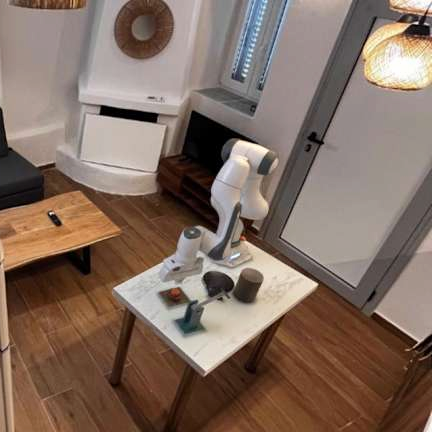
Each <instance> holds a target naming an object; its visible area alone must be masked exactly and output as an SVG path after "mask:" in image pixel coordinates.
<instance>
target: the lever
mask: <svg viewBox="0 0 432 432" xmlns="http://www.w3.org/2000/svg"><path fill="white" fill-rule="evenodd" d="M219 291H221V292H219V294H218V295H216V296H214V297H212V298H211V297H210V298H208V299H206V300H204V301H202V302H200V303H198V304H197V303H195V304H193V305H191V309H192V311H193V310H194V309H195V308H199V307H204V306H207V305H209V304H210V303H212V302H214V301H217V299H218V298H220V297H222V298H223V297H224V296H225V298H226V299H228V300H229V299H231V296H230V295H229V294H228V292H226V290H225V289H224V288H223V287H221V288H219Z"/></svg>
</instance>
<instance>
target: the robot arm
mask: <svg viewBox="0 0 432 432" xmlns="http://www.w3.org/2000/svg"><path fill="white" fill-rule="evenodd" d="M220 153H221V154H220V156H221V159H222V161H223V166H222V167H221V168H220V170H219V172H218V173H217V174H216V177H215V179H214V180H213V183H212V186H211V189H210V193H211V197H210V204H211V206H212V208H213V209H214V210H215V211H216V213H217V215H218V219H219V222H218V226H217V230H216V231H215V233H214V232H212V231H211V230H209V229H208V228H206V227H204V226H202V225H194V226H187V227H185V228H184V229H183V230H182V232H181V234H180V236H179V239H178V241H177V245H176V250H175V252H174V253H173V254H172V255H170V256H168V257H166V258H164V259H163V260H162V265H161V266H160V269H159V273H158V278H159V280H160V282H162V283H168V282H172V281H174V282H173V283H174V284H175V285H176V286H177V285H182V284H183V281H185V280H186V279H187V278H189V277H194V276H198V275H200V274H202V273H203V270H204V269H203V268H204V261H205V258H204V256H203V257H202V256H198V255H197V254H198V253H199V252H200V253H202V254H203V255H205V256H207V257H208V259H209V260H210V261H212V262H214V263H216V264H218V265H222V266H226V267H228V268H231V269H233V268H235V267H237V266H239V265H241V264H243V263H245V262H248V261H250V260H251V259H252V256H251V253H250V252H249V248H248V246H247V244H246V243H245V242H246V241H247V239H246V237H245V236H242V233H243V230H244V223H243V222H242V219H240V218H244V219H246V220H247V219H248V220H253V221H261V220H263V219H265V218H266V217H267V215H268V213H269V211H270V206H269V203H268V202H267V200H266V199H265V198H264V197H263V195H262V194H261V189H260V188H261V184H262V180H263V177H264V176H268V175H270V174H271V173H273V171H274V170H275V169H276V168H277V166H278V163H279V156H278V153H276V152H275V151H273V150H272V149H268V148H266V147H264V146H262V145H259V144H257V143H253V142H249V141H246V140H242V139H241V138H230V139H228V140H227V141H226V142H225V144H224V145H223V146H222V149H221V152H220Z"/></svg>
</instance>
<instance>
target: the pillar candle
mask: <svg viewBox="0 0 432 432" xmlns="http://www.w3.org/2000/svg"><path fill="white" fill-rule="evenodd" d="M264 280H265V276H264V274H263V272H260V271H259V270H258V269H255V268H253V267H245V268H242V270H241V272H240V274H239V276H238V279H237V281H236V283H235V286H234V288H233V290H232V294H233V296H234V298H235V299H236V300H237V301H239V302H241V303H243V304H252V303H254V301H255V300H256V297H257V296H258V293H259V291H260V289H261V287H262V284H263V282H264Z"/></svg>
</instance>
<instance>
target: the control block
mask: <svg viewBox="0 0 432 432" xmlns="http://www.w3.org/2000/svg"><path fill="white" fill-rule="evenodd" d="M172 289H178V290H179V291H180V293H179V296H177V297H174V296H172V295H171V291H172ZM158 294H159V295H160V296H161V298H162V299H163V301H164V302H165V304H166V305H167V306H168V307H173V306H178V305H181V304H186V303H188V302H190V301H191V300H190V298H189V297H188V295H186V293H185V292H184V291H183V289H182V288H181V287H180V286H177V287H173V288H169V289H165V290H162V291H158Z"/></svg>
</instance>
